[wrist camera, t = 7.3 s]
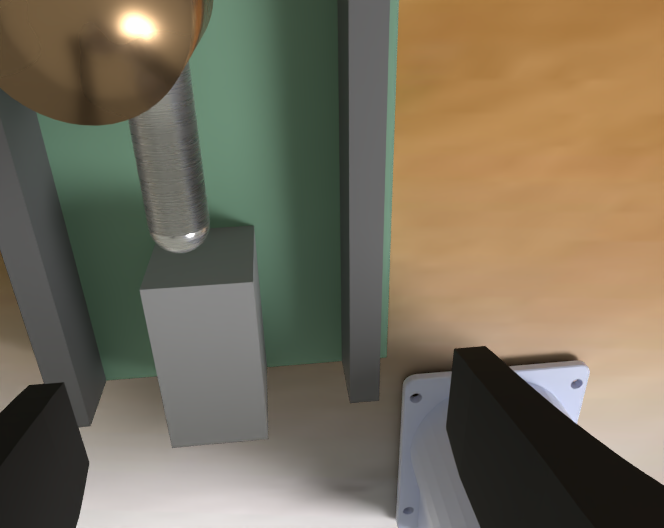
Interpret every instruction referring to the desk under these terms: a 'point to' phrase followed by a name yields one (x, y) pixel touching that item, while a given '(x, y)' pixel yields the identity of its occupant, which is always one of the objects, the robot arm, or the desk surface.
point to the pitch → (219, 224)
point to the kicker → (120, 90)
